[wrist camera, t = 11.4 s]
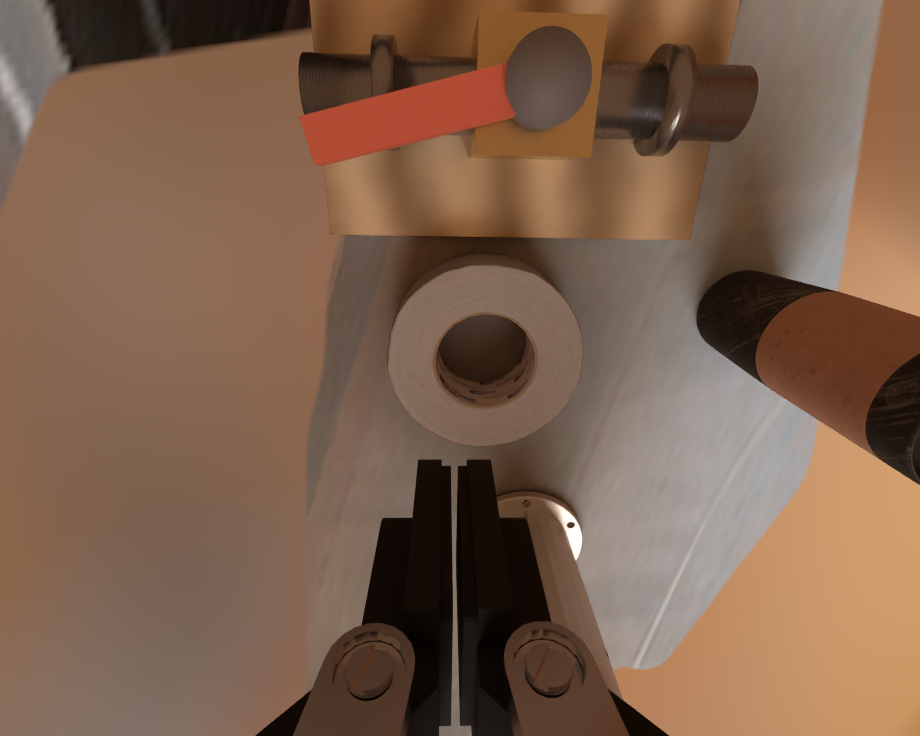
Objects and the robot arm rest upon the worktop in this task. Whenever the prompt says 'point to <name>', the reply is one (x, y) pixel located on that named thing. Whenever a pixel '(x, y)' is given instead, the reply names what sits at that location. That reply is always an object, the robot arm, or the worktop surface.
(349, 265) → the worktop surface
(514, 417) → the tape roll
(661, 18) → the mount board
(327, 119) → the lever
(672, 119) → the valve
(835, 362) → the travel mug
